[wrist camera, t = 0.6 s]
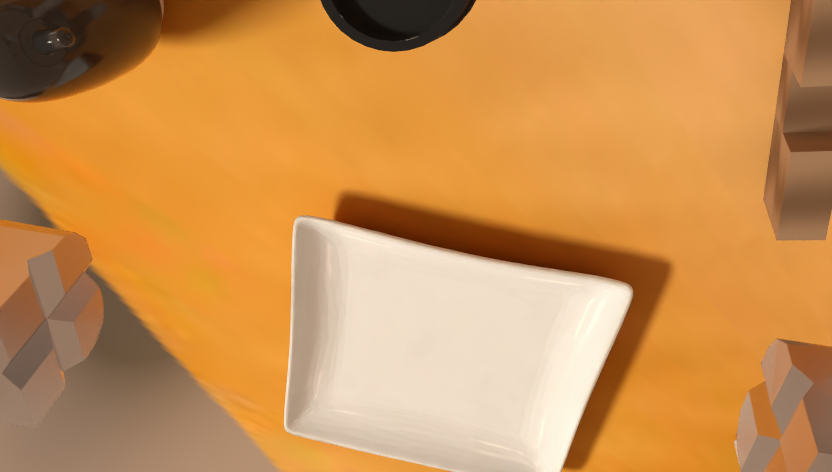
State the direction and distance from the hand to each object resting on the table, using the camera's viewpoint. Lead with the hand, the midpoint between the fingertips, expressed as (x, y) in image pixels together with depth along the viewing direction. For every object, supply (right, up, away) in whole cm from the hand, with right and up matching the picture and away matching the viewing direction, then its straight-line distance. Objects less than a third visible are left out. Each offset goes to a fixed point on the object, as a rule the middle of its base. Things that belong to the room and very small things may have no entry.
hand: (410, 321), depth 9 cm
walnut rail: (+25, +11, +42) cm, 50 cm away
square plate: (+3, -9, +62) cm, 63 cm away
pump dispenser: (-21, +19, +46) cm, 54 cm away
